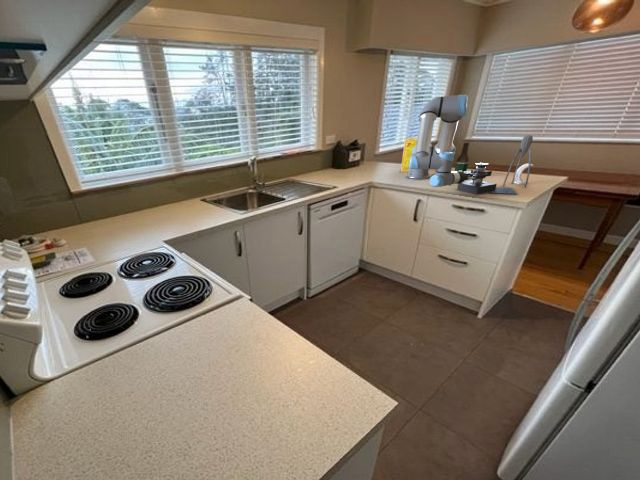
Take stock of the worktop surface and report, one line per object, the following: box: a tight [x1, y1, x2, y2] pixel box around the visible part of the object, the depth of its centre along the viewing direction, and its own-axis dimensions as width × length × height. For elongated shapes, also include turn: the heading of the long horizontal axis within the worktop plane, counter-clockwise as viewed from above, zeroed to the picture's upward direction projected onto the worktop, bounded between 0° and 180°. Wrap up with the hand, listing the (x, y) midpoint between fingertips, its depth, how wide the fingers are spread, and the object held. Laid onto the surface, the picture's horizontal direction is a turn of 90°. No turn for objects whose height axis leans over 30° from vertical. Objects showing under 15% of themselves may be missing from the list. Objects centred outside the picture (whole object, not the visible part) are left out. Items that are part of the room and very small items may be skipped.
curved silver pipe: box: [513, 162, 534, 185], centre depth 188 cm, size 5×6×12 cm
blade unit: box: [472, 161, 489, 185], centre depth 181 cm, size 6×6×17 cm
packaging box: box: [400, 137, 418, 173], centre depth 246 cm, size 16×16×25 cm
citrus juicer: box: [502, 134, 534, 189], centre depth 180 cm, size 11×10×30 cm
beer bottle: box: [454, 142, 470, 172], centre depth 211 cm, size 8×8×24 cm
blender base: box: [456, 179, 498, 195], centre depth 184 cm, size 14×14×4 cm
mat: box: [489, 186, 518, 196], centre depth 179 cm, size 14×12×1 cm
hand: (486, 172), depth 182 cm, fingers closed on blade unit, 5 cm apart
